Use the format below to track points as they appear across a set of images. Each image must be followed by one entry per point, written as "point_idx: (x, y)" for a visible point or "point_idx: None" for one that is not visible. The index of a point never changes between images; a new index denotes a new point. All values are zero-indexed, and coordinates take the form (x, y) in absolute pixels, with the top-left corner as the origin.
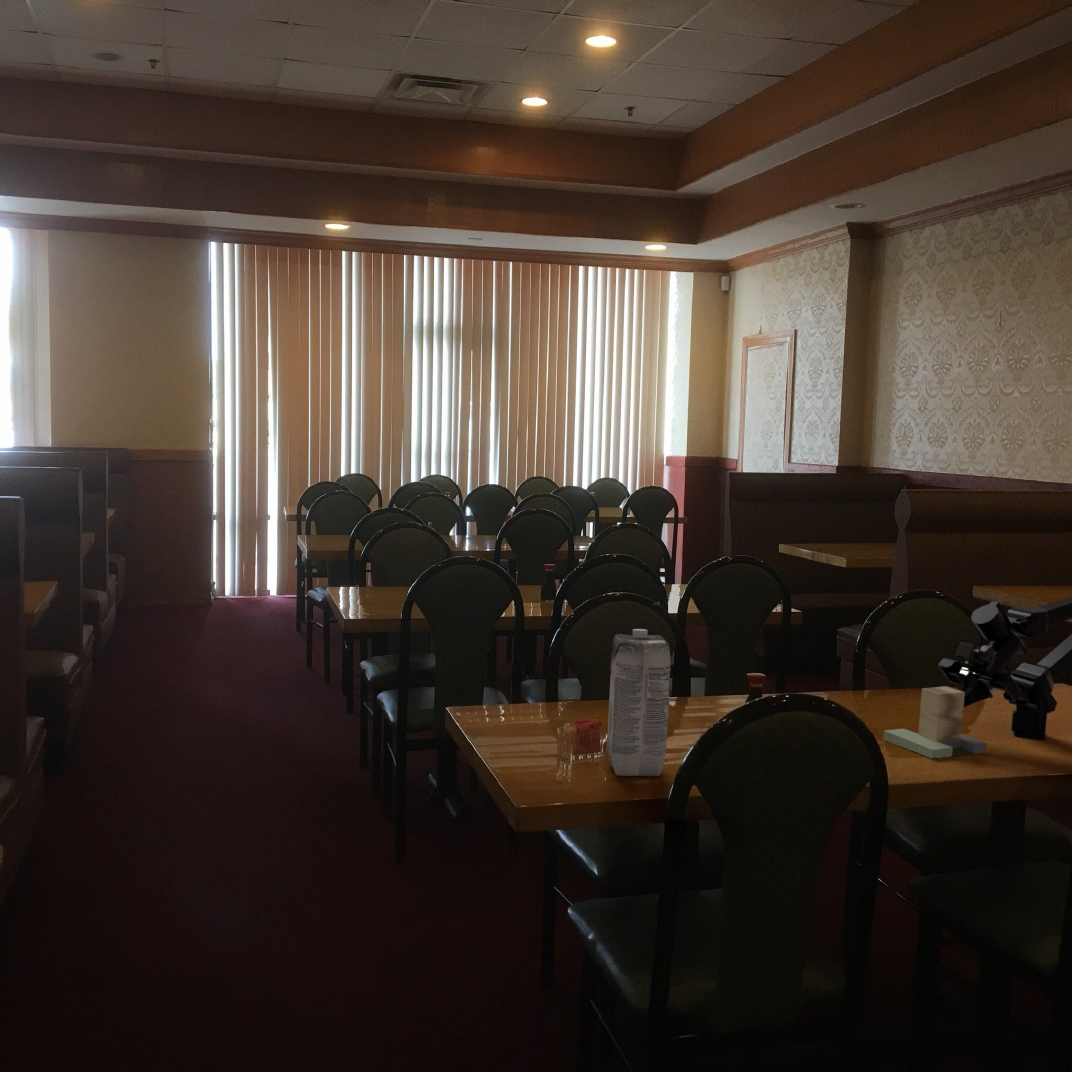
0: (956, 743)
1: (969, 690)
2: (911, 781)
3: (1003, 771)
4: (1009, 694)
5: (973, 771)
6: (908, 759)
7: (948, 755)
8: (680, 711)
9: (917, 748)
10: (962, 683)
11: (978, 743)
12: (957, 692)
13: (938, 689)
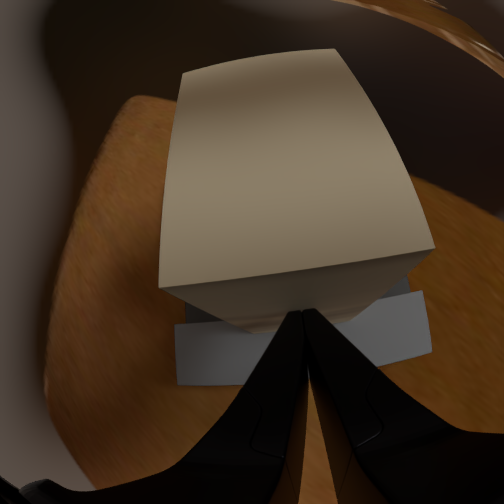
0: None
1: (232, 431)
2: (127, 107)
3: (76, 294)
4: (1, 478)
5: (100, 225)
6: None
7: None
8: (455, 34)
9: None
10: (406, 454)
11: (181, 351)
12: (169, 196)
13: (305, 103)
